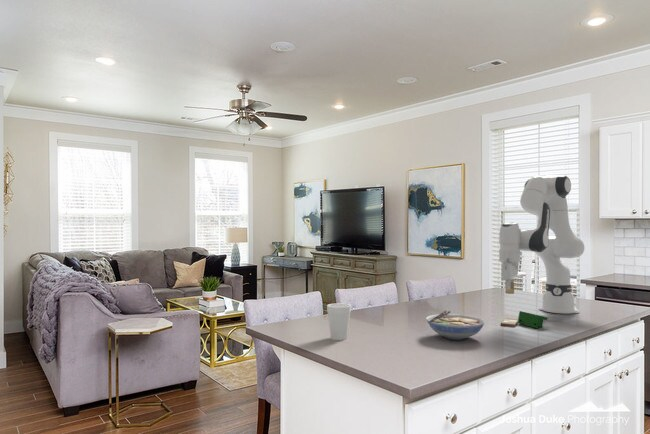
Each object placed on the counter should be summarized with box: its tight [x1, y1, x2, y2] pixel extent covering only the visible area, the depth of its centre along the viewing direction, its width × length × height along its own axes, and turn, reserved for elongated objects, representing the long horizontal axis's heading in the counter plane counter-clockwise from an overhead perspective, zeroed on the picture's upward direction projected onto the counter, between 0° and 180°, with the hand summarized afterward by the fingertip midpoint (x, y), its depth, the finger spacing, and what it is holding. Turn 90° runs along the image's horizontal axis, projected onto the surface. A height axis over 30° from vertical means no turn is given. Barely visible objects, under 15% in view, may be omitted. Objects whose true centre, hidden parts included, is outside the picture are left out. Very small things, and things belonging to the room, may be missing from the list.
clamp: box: [517, 310, 548, 329], centre depth 206 cm, size 12×6×9 cm, turn 15°
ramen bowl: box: [425, 310, 486, 341], centre depth 184 cm, size 25×23×8 cm
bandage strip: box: [500, 317, 519, 328], centre depth 210 cm, size 13×6×1 cm, turn 149°
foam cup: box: [326, 302, 352, 341], centre depth 183 cm, size 10×9×13 cm
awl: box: [504, 281, 515, 295], centre depth 210 cm, size 4×4×9 cm
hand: (509, 288), depth 210 cm, fingers closed on awl, 4 cm apart
